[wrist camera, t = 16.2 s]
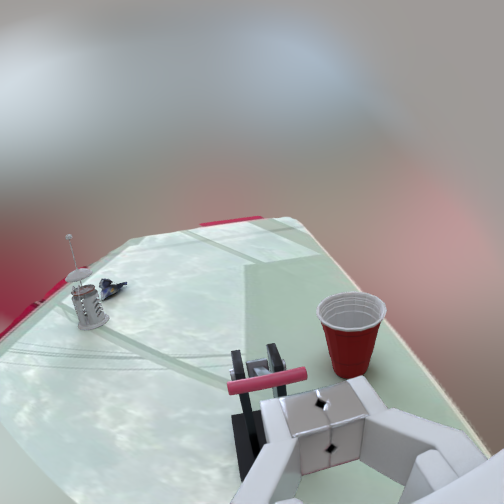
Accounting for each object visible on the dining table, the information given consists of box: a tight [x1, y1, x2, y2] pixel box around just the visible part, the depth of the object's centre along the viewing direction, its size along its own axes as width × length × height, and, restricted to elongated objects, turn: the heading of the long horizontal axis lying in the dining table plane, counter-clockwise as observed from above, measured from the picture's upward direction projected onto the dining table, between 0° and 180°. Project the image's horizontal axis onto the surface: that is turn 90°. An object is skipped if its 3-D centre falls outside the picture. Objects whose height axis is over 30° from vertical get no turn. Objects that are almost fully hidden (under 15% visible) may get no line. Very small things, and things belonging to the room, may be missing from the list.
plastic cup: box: [316, 292, 387, 379], centre depth 48 cm, size 11×11×12 cm
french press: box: [65, 234, 109, 330], centre depth 76 cm, size 10×12×25 cm
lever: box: [227, 358, 307, 395], centre depth 29 cm, size 13×6×2 cm
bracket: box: [230, 343, 287, 483], centre depth 35 cm, size 12×9×15 cm
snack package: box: [99, 279, 127, 301], centre depth 100 cm, size 12×6×12 cm
